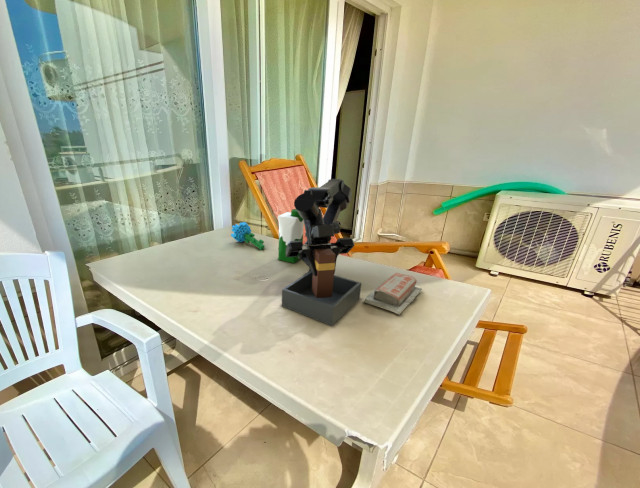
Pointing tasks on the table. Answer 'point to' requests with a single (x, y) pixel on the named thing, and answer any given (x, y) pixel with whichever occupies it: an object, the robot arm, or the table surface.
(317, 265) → the chocolate box
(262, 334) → the table surface
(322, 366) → the table surface
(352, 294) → the open storage bin
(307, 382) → the table surface
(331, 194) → the robot arm
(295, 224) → the milk carton
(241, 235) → the toy flower
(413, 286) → the packaged product
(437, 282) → the table surface
